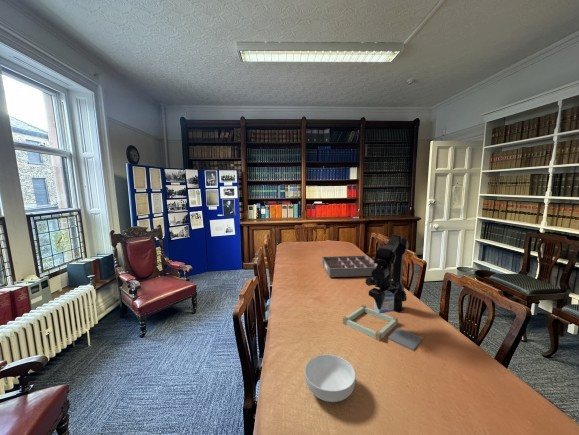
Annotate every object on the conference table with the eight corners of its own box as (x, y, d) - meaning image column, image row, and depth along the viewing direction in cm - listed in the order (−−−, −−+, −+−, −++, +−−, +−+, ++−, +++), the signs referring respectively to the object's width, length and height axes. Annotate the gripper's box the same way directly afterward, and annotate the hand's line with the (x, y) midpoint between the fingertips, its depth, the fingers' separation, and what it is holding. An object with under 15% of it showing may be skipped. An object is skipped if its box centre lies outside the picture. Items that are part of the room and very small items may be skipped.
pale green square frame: (362, 309, 133) (362, 304, 132) (397, 323, 119) (397, 317, 118) (342, 323, 120) (342, 317, 119) (379, 341, 106) (379, 334, 105)
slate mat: (397, 328, 114) (397, 327, 114) (422, 339, 106) (422, 337, 106) (387, 338, 107) (387, 337, 107) (413, 350, 99) (413, 349, 99)
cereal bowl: (347, 369, 89) (347, 352, 88) (362, 411, 73) (362, 390, 72) (302, 371, 89) (302, 354, 88) (307, 413, 72) (307, 392, 71)
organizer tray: (321, 265, 210) (321, 254, 208) (365, 264, 211) (366, 253, 210) (329, 279, 178) (329, 266, 177) (381, 277, 180) (381, 264, 178)
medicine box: (379, 314, 110) (379, 296, 109) (373, 309, 114) (373, 292, 113) (393, 311, 112) (394, 294, 111) (387, 306, 116) (388, 290, 115)
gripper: (378, 265, 123) (377, 294, 125) (358, 274, 111) (358, 306, 113) (400, 271, 114) (399, 301, 116) (381, 281, 102) (380, 315, 104)
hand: (383, 305), depth 113 cm, fingers closed on medicine box, 9 cm apart
